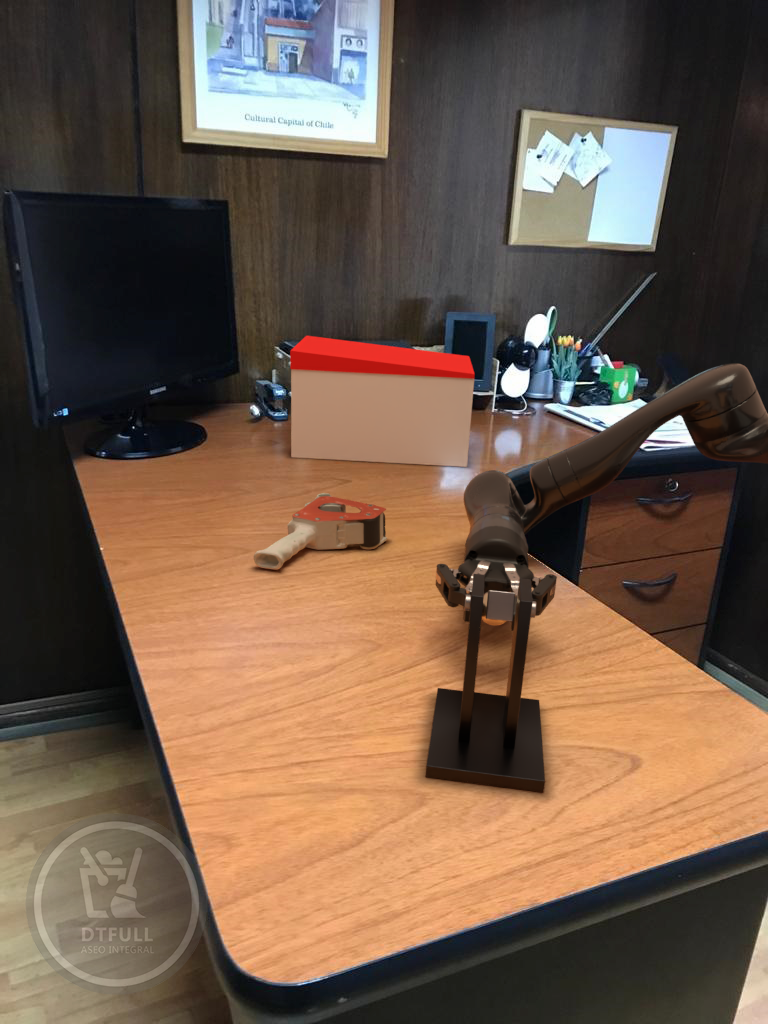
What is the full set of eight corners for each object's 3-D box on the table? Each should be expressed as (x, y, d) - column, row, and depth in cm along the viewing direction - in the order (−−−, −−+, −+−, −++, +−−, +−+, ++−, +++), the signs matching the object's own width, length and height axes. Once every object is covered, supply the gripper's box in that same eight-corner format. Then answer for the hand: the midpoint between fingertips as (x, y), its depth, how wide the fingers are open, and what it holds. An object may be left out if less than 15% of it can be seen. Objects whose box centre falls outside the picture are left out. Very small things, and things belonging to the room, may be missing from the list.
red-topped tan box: (304, 430, 172) (305, 335, 164) (462, 439, 170) (470, 343, 163) (289, 457, 152) (289, 350, 145) (467, 467, 151) (475, 360, 144)
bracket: (436, 697, 77) (448, 553, 72) (537, 710, 76) (557, 564, 71) (425, 777, 66) (437, 613, 61) (543, 792, 65) (567, 627, 59)
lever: (475, 623, 82) (478, 589, 82) (509, 627, 81) (512, 593, 82) (477, 624, 65) (481, 582, 65) (520, 629, 64) (524, 586, 65)
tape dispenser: (256, 584, 103) (401, 565, 107) (253, 549, 100) (401, 531, 105) (245, 529, 118) (372, 514, 123) (242, 497, 116) (372, 483, 120)
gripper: (551, 587, 94) (561, 661, 78) (435, 575, 96) (421, 646, 80) (559, 530, 91) (570, 595, 75) (439, 519, 93) (426, 580, 77)
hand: (494, 620), depth 78 cm, fingers closed on lever, 3 cm apart
